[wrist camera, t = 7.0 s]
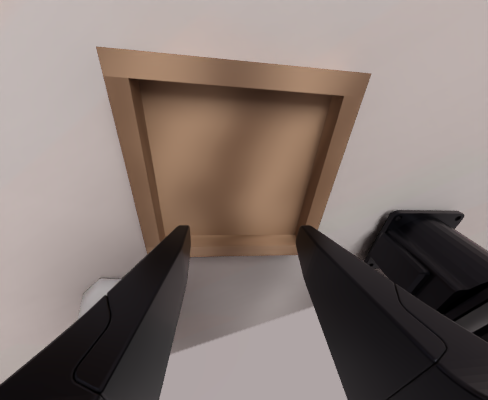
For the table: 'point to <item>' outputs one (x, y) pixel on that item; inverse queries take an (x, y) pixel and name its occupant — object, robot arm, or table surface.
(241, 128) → the tray
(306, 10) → the table surface
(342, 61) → the table surface
